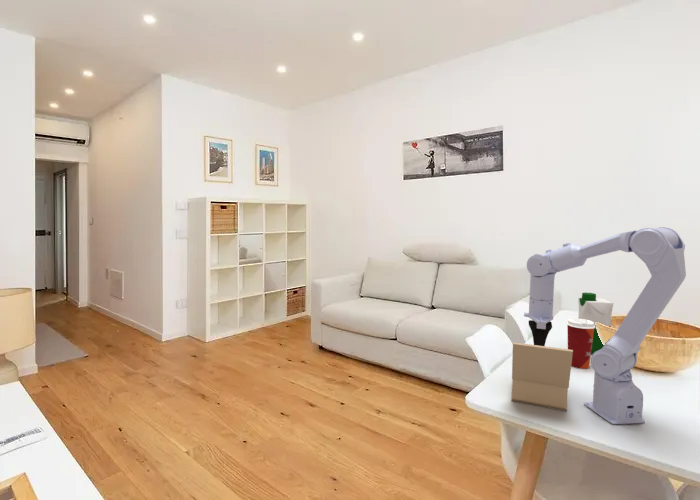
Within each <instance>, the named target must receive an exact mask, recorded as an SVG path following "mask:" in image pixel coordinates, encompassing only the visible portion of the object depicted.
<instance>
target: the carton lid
mask: <svg viewBox="0 0 700 500" xmlns="http://www.w3.org/2000/svg"><path fill="white" fill-rule="evenodd" d="M572 355H573V350H570V349H568V348H561V347H560V348H559V347H552V346H547V345H546V346H538V345H534V344H530V343H522V342H514V341H513V342H512V359H511V360H512V361H511V365H512V366H511V379H515V380H522V381H528V382H534V383H540V384H546V385H552V386H558V387H564V388H568V389H569V387H570V380H571V379H570V378H571V373H572V372H571V370H572V366H571V363H572Z"/></svg>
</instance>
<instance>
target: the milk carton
mask: <svg viewBox="0 0 700 500" xmlns="http://www.w3.org/2000/svg"><path fill="white" fill-rule="evenodd" d="M577 299H578V301H577V303H578V318H579V319H586V320H590V321H593V322H594V325H595V322H599V323H601V324H604V325H606V326H609V327H611V325H612V313H613V308H614V302H612V301H609V300H607V299H605V298H602V297H601V298H600V297H597V294H596V293H593V292H582V293H581V296H579V297H578V298H577ZM603 346H604V345H603V344H602V342H601V340H600V338H599V336H598V333H597V329H596V325H595V328H594V333H593V341H592V349H591V356H592V355H593V353H595V352H596V351H598V350H600V349H602V348H603Z"/></svg>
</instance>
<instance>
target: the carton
mask: <svg viewBox="0 0 700 500" xmlns="http://www.w3.org/2000/svg"><path fill="white" fill-rule="evenodd" d="M511 379H512V378H511ZM511 384H512V385H511V402H515V403H521V404H524V405H525V404H526V405H532V406H537V407H543V408H547V409H553V410H556V411H557V410H558V411H563V412H567V411H568V410H567V409H568V392H569V391H568V390H569V388H564V387H558V386H552V385H546V384H540V383H534V382H528V381H522V380H515V379H512V380H511Z"/></svg>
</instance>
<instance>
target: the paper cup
mask: <svg viewBox="0 0 700 500" xmlns="http://www.w3.org/2000/svg"><path fill="white" fill-rule="evenodd" d="M566 325H567V349H570V350H573V355H572V363H571V368H575V369H581V370H586V369H589V368H590V365H591V356H592V355H591V349H592V341H593V333H594V328H595V325H594V322H593V321H590V320H586V319H579V318H577V317H573V318H568V320H567V322H566Z"/></svg>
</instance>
